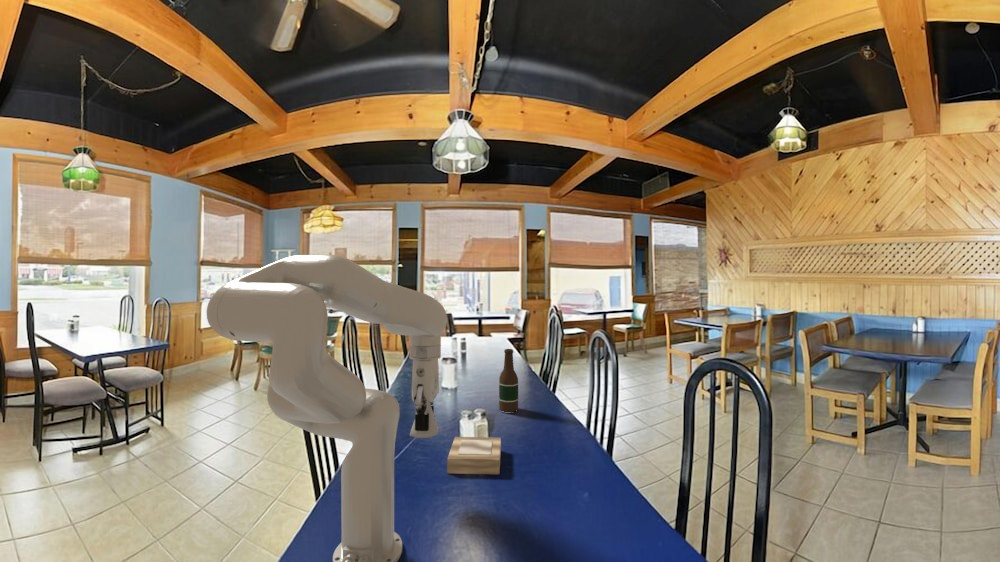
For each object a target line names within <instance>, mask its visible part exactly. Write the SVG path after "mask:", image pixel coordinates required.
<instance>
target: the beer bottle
mask: <svg viewBox="0 0 1000 562" xmlns="http://www.w3.org/2000/svg"><path fill="white" fill-rule="evenodd" d="M503 352H504V360H503V361H504V364H503V370H502V371H501V372H500V375H499V379H498V380H499V381H498V407H499V408H498V409H499V411H500V410H501V411H504V412H514V411H516V410H518V411H519V379H518V374H517V373H516V371H515V369H514V368H515V367H514V355H513V354H514V350H513V349H512V348H505V349H504V351H503Z"/></svg>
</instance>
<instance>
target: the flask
mask: <svg viewBox="0 0 1000 562" xmlns="http://www.w3.org/2000/svg"><path fill="white" fill-rule="evenodd" d="M422 401H426V398H423V399H422ZM422 405H424V407H425V403H422ZM431 406H432V405H431V402H430V401H428V413H429V430H428V431H416V430H415V419H414V420H413V424H412V426H411V429H410V433H409V437H414V438H418V439H424V438H425V439H429V438H433V437H434V436H436V435H438V434H439V433H440V432H439V431H440V426H439V425H438V423H437V419H436V417H435V413H434V414H433V410H432V407H431Z"/></svg>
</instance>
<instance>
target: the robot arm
mask: <svg viewBox="0 0 1000 562" xmlns="http://www.w3.org/2000/svg"><path fill="white" fill-rule="evenodd" d="M327 307H329V308H332V309H334V310H336V311H339V312H341V313H344V314H347V315H349V316H352V317H354V318H356V319H359V320H361V321H363V322H368V323H371V324H378V325H382V326H383V328H384V330H386V331H387V332H388V333H390V334H392V335H397V336H409V352H408V353H409V355H408V357H409V359H410V360H412V372H411V373H412V374H411V377H412V378H411V398H412V401H413V402H414V408H415V411H414V420H415V430H416V431H428V430H429V413H428V401H430V402H431V407H432V410H433V414H434V415H435V413H434V412H435V409H434V408H435V406H434V403H435V400H436V398H437V396H438V394H439V392H440V373H439V372H440V370H439V369H440V368H439V359H441V357H442V352H441V351H442V350H441V349H442V348H441V347H442V343H441V342H442V333H443V332H444V331H445V330H446V327H447V323H448V316H447V312H446V309H445V308H444V306H443V305H442V303H440V301H438V300H436V299H435V298H434V297H433V296H430V295H429V294H426V293H424V292H422V291H418V290H414V289H411V288H408V287H404V286H401V285H398V284H396V283H392V282H389V281H386V280H385V279H382V278H380V277H379V276H377V275H375V274H374V273H373V272H370V271H369V270H368V269H367V268H364V267H363V266H361V265H359V264H358V263H356V262H354V261H353V260H351V259H349V258H347V257H344V256H341V255H337V254H299V255H291V256H288V257H284V258H282V259H279V260H277V261H275V262H272V263H269V264H267V265H265V266H263V267H261V268H258V269H256V270H254V271H252V272H249V273H247V274H244V275H242V276H241V277H238V278H237V277H236V279H233V280H232V281H229V282H227V283H225V284H224V285H222V286H221V287H219V288H218V289H217V290H216V291H215V292H214V294H212V296H211V298H210V299H209V301H208V304H207V306H206V320H207V323H208V325H209V326H210V328H211V329H212V330H213V331H214V332H215V333H216V334H217V335H219V336H221V337H222V338H226V339H228V340H233V341H240V342H243V341H244V342H252V343H253V342H255V343H266V344H267V343H268V344H272V351H271V357H270V366H269V373H268V381H269V384H268V387H267V392H266V393H267V394H266V395H267V396H266V397H267V398H266V399H267V404H268V405H269V406H268V407H269V408H270V410H271V412H272V413H273V414H274V415H275V416H276V417H277V418H279V419H281V420H282V421H285V422H287V423H288V424H291V425H293V426H296V427H297V428H300V429H301V430H304V431H306V432H309V433H311V434H313V435H315V436H319V437H325V438H333V439H339V440H344V441H347V442H348V441H349V442H351V444H352V445H351V446H352V447H351V448H350V450H349V451H348V453H347V455H345V457H344V459H343V461H342V464H341V470H340V473H341V475H340V482H341V485H340V486H341V488H340V491H341V492H340V493H341V494H340V496H341V498H340V499H341V503H340V504H341V505H340V507H341V513H340V514H341V516H340V518H341V520H340V521H341V542H340V543H339V544H337V545H338V546H337V547H336V548H335V549H334V552H333V554H332V562H398V561H399V560H400V558H401V555H402V554H403V540H402V537H401V536H400V534H398V533H397V532H396V531H395V447H396V444H395V443H396V438H397V431H398V427H399V421H400V414H401V413H400V412H401V410H400V404H399V402H398V400H397V398H396V397H395V396H393V395H392V394H391V393H390V392H386V391H383V390H380V389H373V388H366V387H365V386H364V383H363V382H362V380H361V379H360V377H358V376H357V375H356V374H355V373H354V372H353V371H352V370H350V369H349V368H347V367H345V366H344V365H343V364H342V363H340V362H339V361H338V360H336V359H335V358H334V357H332V355H331V354H329V353H328V351H327V350H326V349H327V348H326V340H327V337H326V336H327V329H328V328H327V327H328V320H329V318H328V316H329V315H328V309H327ZM423 398H426V401H422V399H423ZM422 403H425V407H424V405H422Z"/></svg>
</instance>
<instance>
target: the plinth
mask: <svg viewBox="0 0 1000 562" xmlns="http://www.w3.org/2000/svg"><path fill="white" fill-rule="evenodd" d="M501 453H502V438H501V437H494V436H493V437H487V436H486V437H483V436H482V437H481V436H477V437H476V436H454V437H453V442H452V444H451V448H450V449H449V453H448V455H447V461H446V462H447V467H446V468H447V469H446V470H447V473H446V474H457V475H458V474H465V475H469V474H470V475H500V473H501V472H500V468H501Z"/></svg>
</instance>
